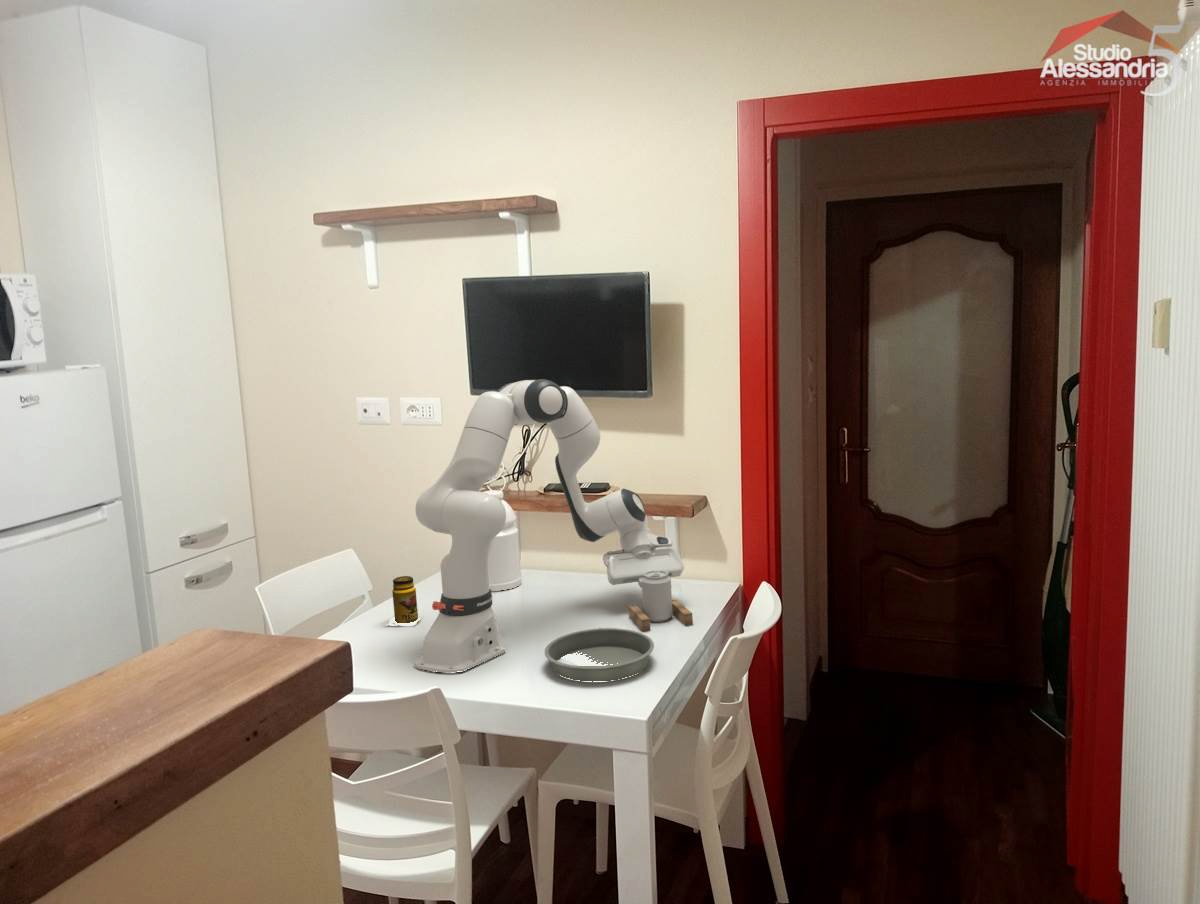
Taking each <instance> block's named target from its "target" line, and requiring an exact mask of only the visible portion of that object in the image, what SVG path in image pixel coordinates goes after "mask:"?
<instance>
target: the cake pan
mask: <svg viewBox="0 0 1200 904" xmlns="http://www.w3.org/2000/svg"><path fill="white" fill-rule="evenodd" d="M654 643H655V642H654V641H653V639H652V638H651V637H649V636H648V635H646V634H644V633H642V632H639V631H636V630H631V629H626V628H616V627H614V628H612V627H610V628H609V627H606V628H605V627H604V628H603V627H602V628H591V629H583V630H578V631H574V632H571V633H568V634H564V635H562V636H559V637H557V638H555V639H553V640H551V641H550V642H549V643H548V644H547V645H546V646H545V649H544V656H545V658H546V659H547V660H548V661H550V663H551V665H552V668H553V671H554V670H555V671H554V672H556V673H557V674H559V675H561V676H563V677H566V678H570V679H573V680H580V681H592V682H593V681H611V680H618V679H622V678H625V677H629V676H632V675H635V674H637V673H639V672H641V671H642V670H643V671H645V670H646V668H647V667H648V665H649V658H650V655H651V654H652V653H653V651H654V648H655V644H654ZM578 651H579V652H578ZM576 652H577V653H578V654H579V653H581V652H582V654H580V655H583V654H587V655H585V656H586V657H589V656H591V657H589V659H592V660H593V661H591V662H594V661H596V662H597V663H596V664H598V663H600V662H603V663H601V664H602V665H604V664H608V665H606V666H577V665H574V664H573V665H572V664H568V663H563V662H561V661H560V660H559V659H560V658H561V657H563V656H565V655H567V654H573V653H576ZM576 655H577V654H576ZM593 658H594V659H593ZM589 659H588V660H589ZM557 660H559V661H557ZM597 660H598V661H597ZM607 662H608V663H607ZM617 663H618V664H617ZM610 664H613V665H610ZM646 666H647V667H646ZM643 671H642V672H643ZM642 672H641V673H642ZM556 673H555V674H556ZM557 674H556V675H557ZM639 674H640V673H639ZM559 675H558V676H559ZM637 675H638V674H637ZM635 676H636V675H635ZM632 677H633V676H632Z"/></svg>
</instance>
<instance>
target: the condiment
mask: <svg viewBox="0 0 1200 904" xmlns="http://www.w3.org/2000/svg"><path fill="white" fill-rule="evenodd" d="M392 584H393V585H392V588H393V589H392V590H391V592H392V601H393V602H392V603H393V612H394V615H393V616H394V617H395V621H396V622H397V623H410V622H414V621H416V620H417V619H418V617H419V613H418V612H419V610H418V603H417V600H418V599H417V590H416V587H415V583H414V577H412V576H410V575H403V576H397V577H395V578H394V579H392Z"/></svg>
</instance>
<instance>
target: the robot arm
mask: <svg viewBox="0 0 1200 904" xmlns="http://www.w3.org/2000/svg"><path fill="white" fill-rule="evenodd" d="M540 424H547V426H548V427H549V428H550V431H551V433H552V434H553V436H554V438H555V441H556V443H557V449H558V453H557V455H556V456H555V459H554V463H555V469H556V472H557V477H558V479H559V482H560V485H561V488H562V491H563V494H564V497H565V500H566V502H567V505H568V508H569V511H570V514H571V518H572V521H573V526H574V530H575V532H576V534H577V535H578V537H579V538H580V539H582V540H584V541H586V542H591V543H595V542H597V541H599V540H601V539H602V538H604V537H606V536H608V535H610V534H613V533H614V532H618V534H619V543H620V546H621V547H620V548H621V549H617V550H614V551H613V550H612V551H611V550H609V551H606V553H605V554H604V555H603V556H602V561H603V564H604V566H605V567H606V575H607V581H608V583H609V584H610V585H612V586H616V585H624V584H630V583H631V584H632V583H637V585H638V586H639V587H640V588H641V589H642V578H643V577H644V573H645V572H648V571H653V570H662V571H666V572H668V576H669V577H670V578H676V577H680V576H681V575H682V573H683V572H684V563H683V559H682V558H681V556H680V553H679V551H678V550H677V548H675V547H674V546H673V539H672V538H671V537H669V536H662V535H657V534H653V533H652V530H651V529H650V528H649V519H648V516H647V513H646V512H647V511H646V509H645V505H644V502H643V499H641V497H640V496H639V495H638V494H637V493H636V492H634V491H633V490H630V489H627V488H620V489H619V490H615V491H613V492H610V493H609V494H606V495H605V496H602V497H601V498H598V499H595V500H593V501H591V502H586V501H585V500H584V496H583V493H582V490H581V487H580V484H579V481H578V479H577V473H578V472H579V471H580V469H581V468H582V467H583V466H584V465H585V464H586V463H587V462H588V461H589V460H590V459H591V458H592V456H594V455H595V453H596V452H597V450H598V447H599V445H600V443H601V442H600V441H601V432H600V430H599V427H598V425H597V422H596V420H595V419H594V417H593V415H592V413H591V412H590V410H589V408H588V407H587V405H586V404H585V402H584V400H582V398H581V397H580V396H579V395H578V393H577V392H576V391H575V389H573V388H571V387H570V386H565V385H562V386H561V385H559V384H557V383H556V382H554V381H552V380H548V379H544V378H543V379H542V378H541V379H540V378H539V379H524V380H519V381H516V382H510V383H507V384H504V385H502V386H501V387H500V388H499V389H497V391H491V390H489V391H486V392H485V391H484V392H483V393H481V394H480V395H479V396H478V398H477V399H476V400H475V402H474V404H473V406H472V408H471V410H470V413H469V414H468V416H467V419H466V421H465V424H464V426H463V429H462V431H461V432H462V433H461V435H460V438H459V440H458V444H457V446H456V449H455V450H454V454H453V457H452V458H451V460H450V463H449V464H448V465H447V467H446V468H445V470H444V471H443V473H442V474H441V476H439V478H438V479H437V481H436V482H435V483H434V484H433V485H431V487H429V488H428V489H425V490H424V491H423V492H422V493H420V495H419V497H418V499H417V501H416V504H415V516H416V518H417V521H418V522H419V524H421V525H422V526H424V527H425V528H426V529H428V530H431V531H433V532H435V533H439V534H446V535H450V536H451V547H450V550H449V553H448V554H446V555H444V557H443V558H442V559H441V561H440V576H441V587H442V589H441V590H442V593H441V595H440V600H439V601H438V600H437V601H436V600H434V601H433V602H432V604H431V607H432V610H434V611H439V613H438V615H437V617H436V619H435V620H434V622H433V623H432V625H431V627H430V629H429V630H428V632H427V634H426V635H425V636H424V640H423V654H421V655H420V656H418V657H417V658H416V659H415V661H414V662H413V667H414V666H415V668H416V667H417V668H416V669H418V668H419V669H418V670H420V669H423V670H422V671H424V670H428V671H427V672H429V671H435V672H436V671H437V672H457V671H464V670H466V669H468V668H471V667H473V666H476V665H478V664H480V663H482V662H484V661H487V660H489V659H491V658H493V657H495V658H497V657H499V656H501V655H503V654H505V653H506V647H505V646H503V645H502V642H501V637H500V630H499V629H500V628H499V623H498V620H497V616H496V615H495V613H494V612H493V608H492V605H493V594H492V591H491V589H490V588H489V574H488V556H489V551H490V547H491V544H492V541H493V539H494V538H495V537H496V536H497V535H498V534H499V533H500V532H501V530H502V529H503V527H504V524H505V520H506V511H505V507H504V505H503V503H502V502H501V501H500V500H499V499H498V498H496V497H493V496H491V495H489V494H487V493H484V491H479V490H480V489H481V488H482V487H483V486H484V485H485V483H487V481H489V480H491V479H492V478H493V477H495V476H496V475H497V474H498V472H499V470H500V467H501V465H502V461H503V458H504V455H505V453H506V452H505V451H506V449H507V446H508V443H509V440H510V436H511V432H512V431H513V428H514V426H518V425H523V426H524V425H525V426H533V425H534V426H535V425H540ZM504 652H505V653H504ZM502 653H503V654H502ZM500 654H501V655H500ZM498 655H499V656H498ZM496 656H497V657H496ZM493 659H494V658H493ZM491 660H492V659H491ZM489 661H490V660H489ZM487 662H488V661H487ZM484 663H485V662H484ZM482 664H483V663H482ZM480 665H481V664H480ZM478 666H479V665H478ZM476 667H477V666H476ZM435 672H434V673H435Z"/></svg>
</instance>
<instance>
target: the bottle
mask: <svg viewBox="0 0 1200 904" xmlns="http://www.w3.org/2000/svg"><path fill="white" fill-rule="evenodd" d="M483 492H484V493H487V494H489V495H491V496H493V497H496V498H498V499H499V500H500V501H501V502H502V503H503V505H504V507H505V511H506V520H505V524H504V527H503V529H502V530H501V532H500V533H499V534H498V535H497V536H496V537H495V538H494V539H493V541H492V544H491V547H490V551H489V556H488V574H489V588H490V589H491V592H502V591H501V590H504V591H508V590H507V589H509V590H511V589H512V588H513V589H515V588H518V587H519V586H520V585H522V570H521V557H520V556H521V555H520V553H521V552H520V540H519V529H518V527H516V526H515V525H514V522H515V521H516V520H517V516H516V513H515V510H514V509H513V508H512V507H511V505H510V504H509V503H508V502H507V501H506V500H505V499H503V498H504V491H502V490H499V489H498V490H497V489H493V490H489V489H488V490H484V491H483ZM517 586H518V587H517ZM513 589H512V590H513Z"/></svg>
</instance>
